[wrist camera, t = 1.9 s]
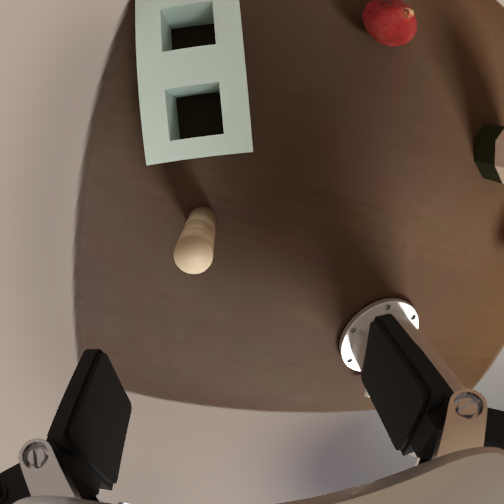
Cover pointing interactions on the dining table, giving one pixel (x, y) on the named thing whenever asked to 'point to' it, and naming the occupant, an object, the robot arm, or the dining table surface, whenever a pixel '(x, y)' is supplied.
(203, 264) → the dowel
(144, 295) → the dining table surface
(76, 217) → the dining table surface
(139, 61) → the hole block
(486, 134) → the wine bottle
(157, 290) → the dining table surface
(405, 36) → the pomegranate
